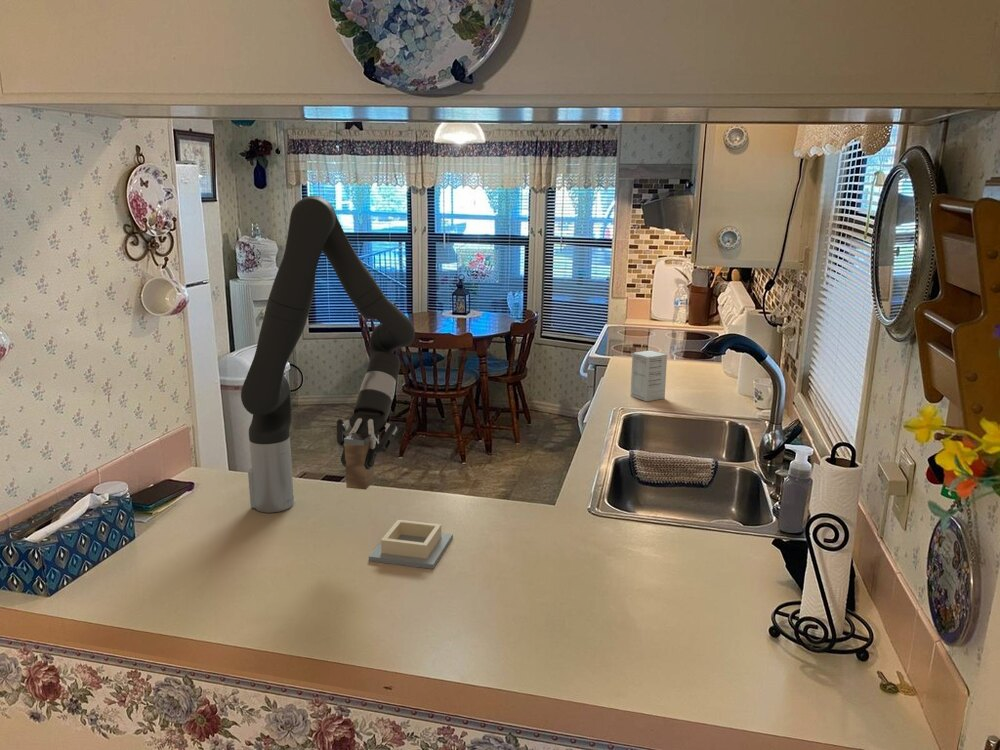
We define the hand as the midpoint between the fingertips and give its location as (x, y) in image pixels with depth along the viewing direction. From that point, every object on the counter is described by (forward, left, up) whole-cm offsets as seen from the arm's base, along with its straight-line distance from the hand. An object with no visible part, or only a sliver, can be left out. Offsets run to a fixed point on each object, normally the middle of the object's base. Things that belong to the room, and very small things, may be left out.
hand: (356, 466), depth 154 cm
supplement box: (+57, +135, -18) cm, 147 cm away
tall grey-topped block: (0, +2, -5) cm, 5 cm away
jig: (+12, +1, -18) cm, 22 cm away
